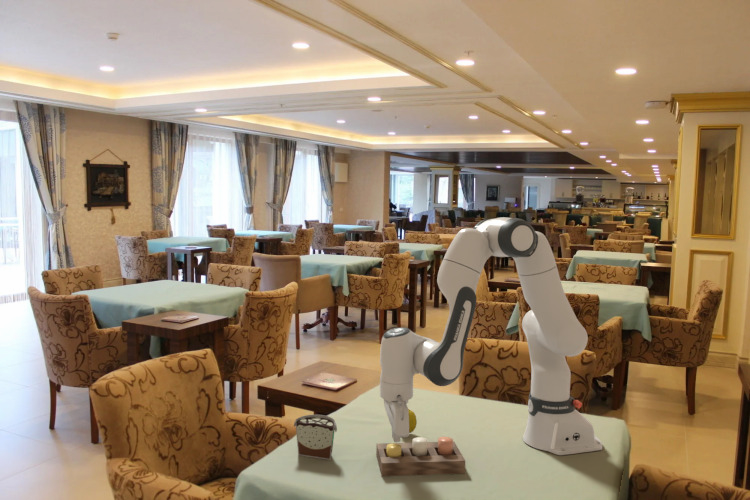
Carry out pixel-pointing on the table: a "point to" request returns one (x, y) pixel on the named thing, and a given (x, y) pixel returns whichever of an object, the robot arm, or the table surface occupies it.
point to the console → (419, 461)
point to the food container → (315, 435)
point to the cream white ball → (419, 446)
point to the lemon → (412, 421)
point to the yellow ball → (393, 450)
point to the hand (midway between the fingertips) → (396, 439)
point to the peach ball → (445, 446)
